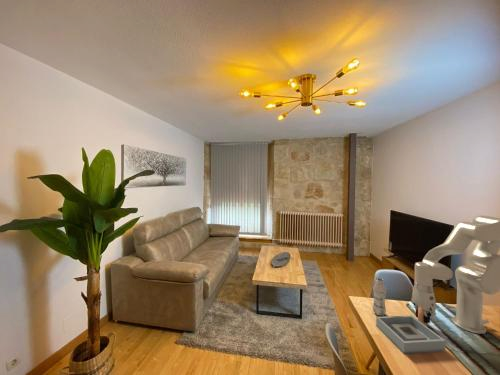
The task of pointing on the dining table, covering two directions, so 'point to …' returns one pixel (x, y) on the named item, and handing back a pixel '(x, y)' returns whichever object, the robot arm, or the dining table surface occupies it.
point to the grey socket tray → (410, 334)
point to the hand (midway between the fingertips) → (422, 319)
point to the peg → (421, 315)
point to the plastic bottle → (379, 297)
